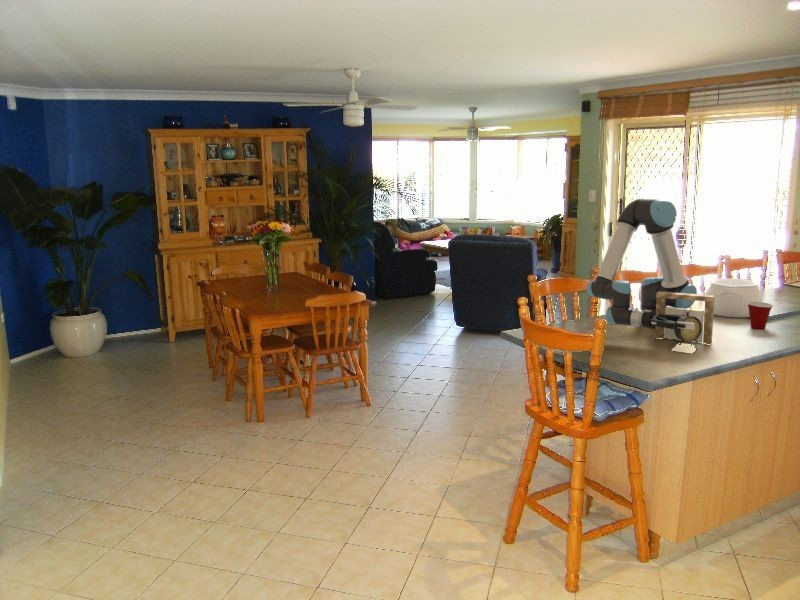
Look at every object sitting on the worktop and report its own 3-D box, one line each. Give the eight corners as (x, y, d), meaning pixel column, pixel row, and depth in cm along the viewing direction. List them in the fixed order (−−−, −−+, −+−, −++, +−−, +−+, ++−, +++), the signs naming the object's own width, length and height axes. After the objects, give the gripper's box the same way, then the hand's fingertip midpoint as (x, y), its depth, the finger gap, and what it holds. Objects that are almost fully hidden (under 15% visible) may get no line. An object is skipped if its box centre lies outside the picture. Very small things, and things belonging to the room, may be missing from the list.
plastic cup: (775, 331, 311) (776, 305, 309) (749, 331, 313) (750, 305, 311) (767, 325, 322) (769, 300, 319) (742, 325, 324) (744, 300, 322)
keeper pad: (670, 351, 286) (670, 349, 285) (678, 343, 297) (678, 341, 297) (693, 354, 280) (693, 352, 280) (700, 346, 292) (701, 344, 291)
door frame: (654, 339, 305) (656, 292, 301) (657, 337, 309) (658, 291, 304) (710, 345, 292) (712, 297, 288) (712, 343, 295) (714, 295, 291)
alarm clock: (679, 346, 284) (681, 308, 281) (671, 343, 289) (672, 305, 286) (701, 343, 287) (703, 305, 284) (693, 340, 292) (695, 303, 289)
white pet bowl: (759, 321, 330) (761, 288, 327) (699, 317, 344) (701, 285, 341) (764, 309, 354) (766, 279, 351) (708, 306, 368) (710, 276, 365)
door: (664, 338, 304) (665, 307, 301) (665, 337, 305) (666, 306, 303) (701, 342, 295) (702, 311, 292) (702, 341, 297) (703, 310, 294)
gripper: (635, 315, 287) (691, 320, 274) (651, 305, 305) (704, 309, 292) (634, 332, 288) (690, 338, 276) (650, 321, 307) (703, 326, 294)
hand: (697, 323), depth 284 cm, fingers closed on alarm clock, 10 cm apart
